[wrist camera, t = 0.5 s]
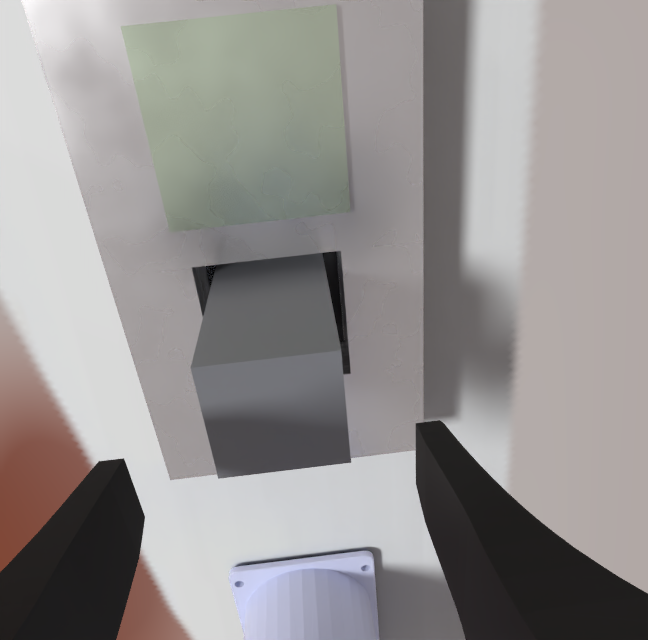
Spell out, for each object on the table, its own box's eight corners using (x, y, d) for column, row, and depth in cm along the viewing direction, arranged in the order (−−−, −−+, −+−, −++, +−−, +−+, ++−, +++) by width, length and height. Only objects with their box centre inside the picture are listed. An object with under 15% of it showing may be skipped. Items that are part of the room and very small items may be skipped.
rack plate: (411, 412, 26) (424, 452, 23) (179, 440, 26) (169, 483, 23) (403, -119, 16) (425, -143, 14) (29, -83, 16) (-13, -101, 14)
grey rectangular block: (329, 330, 23) (350, 462, 16) (236, 341, 23) (218, 478, 16) (320, 242, 21) (340, 350, 14) (218, 254, 21) (190, 367, 14)
